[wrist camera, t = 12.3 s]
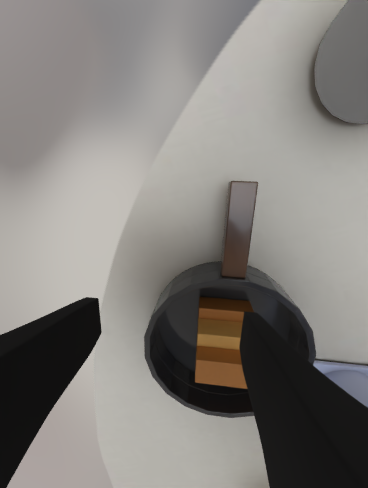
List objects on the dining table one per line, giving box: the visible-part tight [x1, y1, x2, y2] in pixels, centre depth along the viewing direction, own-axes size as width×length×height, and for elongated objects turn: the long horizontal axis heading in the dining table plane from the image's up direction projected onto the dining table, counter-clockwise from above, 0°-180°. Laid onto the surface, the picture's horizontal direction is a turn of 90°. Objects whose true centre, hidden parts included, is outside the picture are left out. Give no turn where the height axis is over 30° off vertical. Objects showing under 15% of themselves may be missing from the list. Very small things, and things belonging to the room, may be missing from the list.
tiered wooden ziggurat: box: [195, 297, 254, 389], centre depth 17 cm, size 6×5×5 cm
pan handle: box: [221, 181, 258, 278], centre depth 14 cm, size 7×2×1 cm, turn 178°
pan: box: [144, 261, 316, 418], centre depth 18 cm, size 14×14×4 cm
